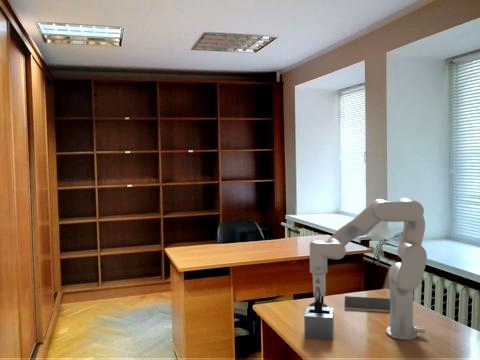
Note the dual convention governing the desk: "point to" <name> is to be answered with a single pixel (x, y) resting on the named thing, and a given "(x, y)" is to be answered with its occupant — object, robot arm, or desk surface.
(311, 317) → the slot box
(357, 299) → the hardcover book
